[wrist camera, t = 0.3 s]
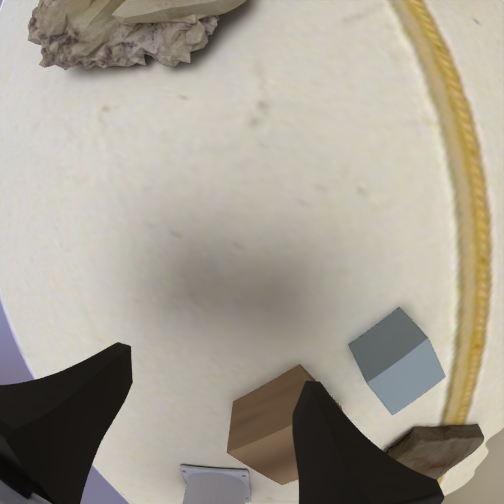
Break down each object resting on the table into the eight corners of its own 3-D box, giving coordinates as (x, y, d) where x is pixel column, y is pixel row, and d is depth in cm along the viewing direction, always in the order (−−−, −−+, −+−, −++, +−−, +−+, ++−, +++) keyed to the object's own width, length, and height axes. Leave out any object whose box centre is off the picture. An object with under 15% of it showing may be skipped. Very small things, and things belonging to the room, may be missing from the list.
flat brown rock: (478, 421, 25) (490, 439, 21) (416, 482, 29) (423, 499, 25) (404, 419, 24) (417, 445, 20) (335, 485, 28) (339, 509, 23)
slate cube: (419, 344, 21) (445, 376, 16) (373, 377, 22) (392, 415, 17) (398, 306, 20) (428, 337, 15) (348, 344, 21) (366, 383, 16)
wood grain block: (340, 406, 23) (355, 454, 17) (279, 437, 24) (281, 484, 18) (299, 363, 22) (309, 415, 16) (233, 401, 23) (226, 452, 17)
